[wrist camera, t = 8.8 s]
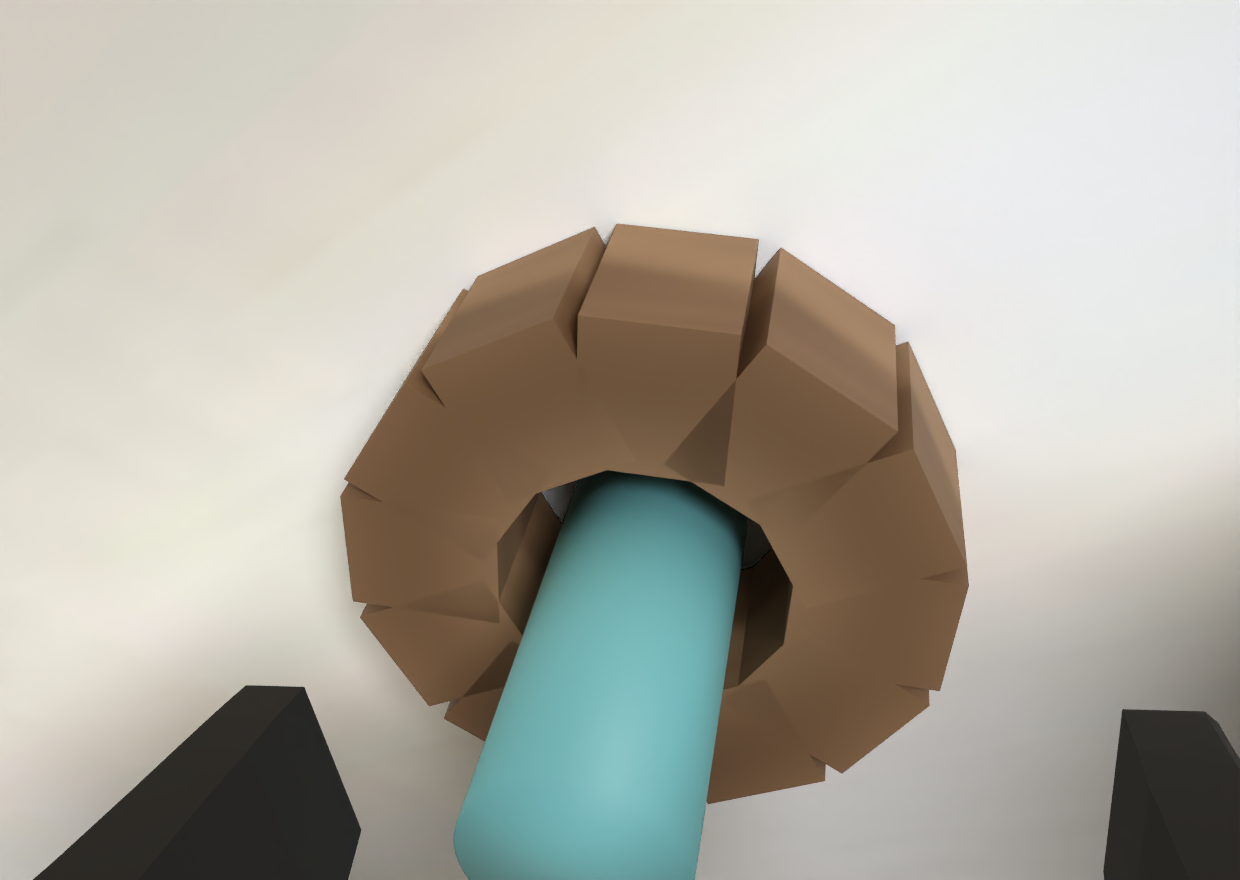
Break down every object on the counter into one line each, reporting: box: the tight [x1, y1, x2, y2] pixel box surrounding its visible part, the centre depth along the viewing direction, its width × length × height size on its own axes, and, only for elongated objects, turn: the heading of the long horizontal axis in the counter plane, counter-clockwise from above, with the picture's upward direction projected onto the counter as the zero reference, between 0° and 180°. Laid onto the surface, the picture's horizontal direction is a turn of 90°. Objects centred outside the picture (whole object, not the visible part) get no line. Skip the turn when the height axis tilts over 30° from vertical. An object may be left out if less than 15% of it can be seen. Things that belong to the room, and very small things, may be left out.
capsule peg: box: [454, 470, 748, 880], centre depth 18 cm, size 3×3×8 cm
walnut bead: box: [340, 224, 969, 804], centre depth 20 cm, size 10×10×3 cm
